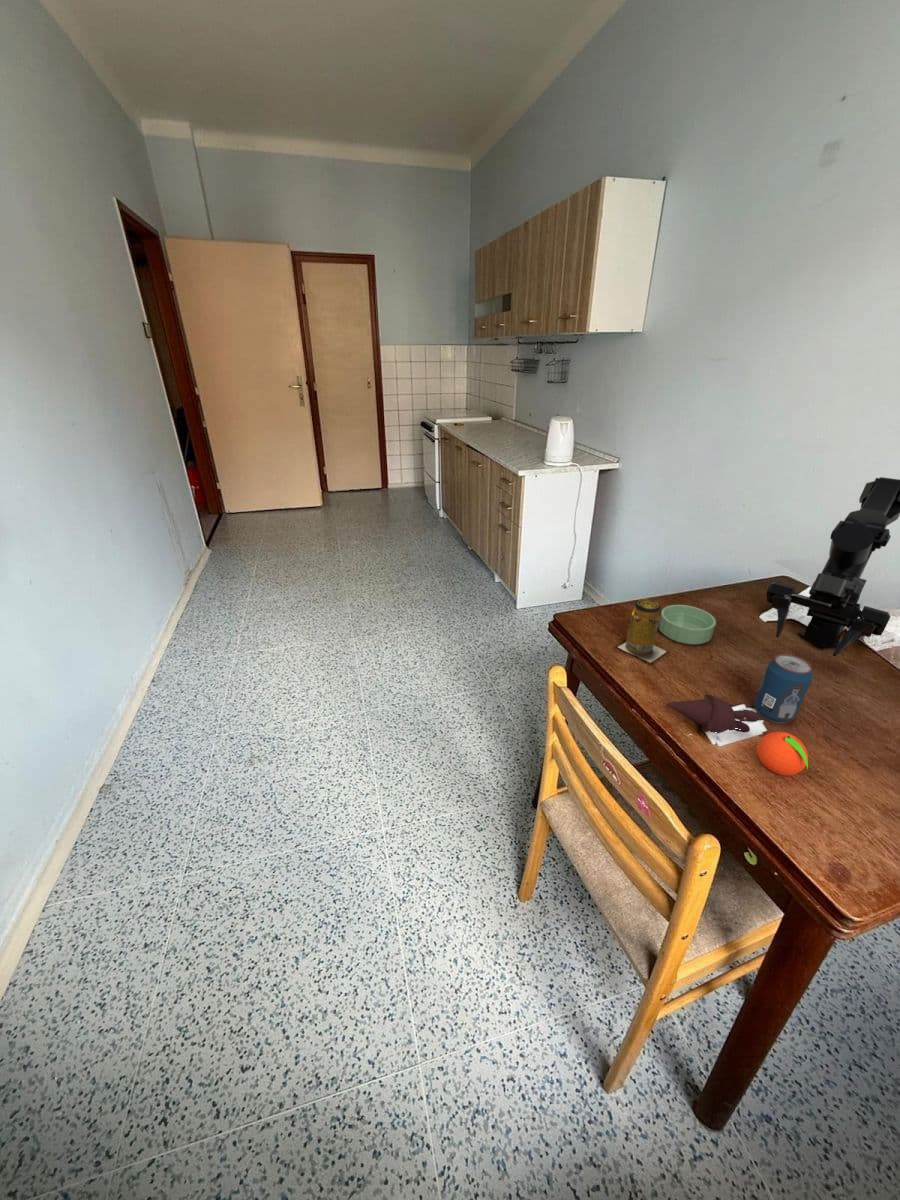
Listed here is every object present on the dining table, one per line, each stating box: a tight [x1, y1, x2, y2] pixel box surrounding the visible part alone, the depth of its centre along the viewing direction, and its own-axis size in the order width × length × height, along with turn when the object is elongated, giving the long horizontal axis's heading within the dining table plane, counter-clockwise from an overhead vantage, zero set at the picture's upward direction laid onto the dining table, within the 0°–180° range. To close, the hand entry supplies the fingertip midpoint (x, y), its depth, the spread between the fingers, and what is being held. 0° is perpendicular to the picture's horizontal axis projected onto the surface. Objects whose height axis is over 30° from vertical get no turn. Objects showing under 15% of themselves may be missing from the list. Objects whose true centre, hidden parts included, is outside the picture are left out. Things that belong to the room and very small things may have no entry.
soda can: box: [754, 653, 814, 724], centre depth 89 cm, size 7×7×12 cm
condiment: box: [617, 598, 667, 664], centre depth 108 cm, size 7×8×12 cm
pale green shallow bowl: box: [658, 604, 717, 645], centre depth 117 cm, size 12×12×4 cm
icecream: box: [666, 694, 761, 734], centre depth 87 cm, size 7×7×15 cm
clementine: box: [756, 731, 809, 776], centre depth 78 cm, size 8×7×7 cm
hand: (804, 645), depth 90 cm, fingers open, 9 cm apart
